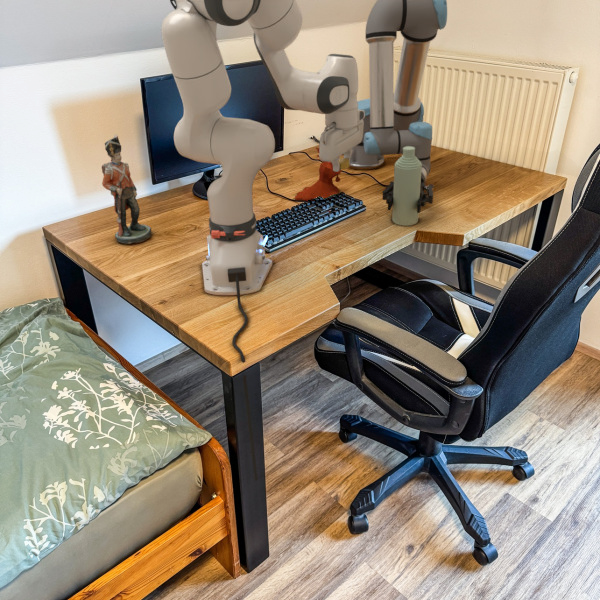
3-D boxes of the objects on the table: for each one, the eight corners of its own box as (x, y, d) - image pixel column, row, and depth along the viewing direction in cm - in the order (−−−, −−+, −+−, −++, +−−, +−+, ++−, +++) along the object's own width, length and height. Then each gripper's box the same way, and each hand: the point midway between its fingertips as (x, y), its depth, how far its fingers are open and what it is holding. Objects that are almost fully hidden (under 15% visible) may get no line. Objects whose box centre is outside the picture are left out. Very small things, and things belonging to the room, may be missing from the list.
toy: (349, 195, 190) (350, 151, 182) (303, 205, 184) (301, 160, 176) (331, 183, 200) (331, 141, 192) (287, 193, 194) (284, 150, 186)
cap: (334, 163, 162) (334, 157, 161) (350, 164, 160) (350, 158, 160) (331, 169, 158) (331, 163, 157) (348, 169, 157) (348, 163, 156)
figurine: (142, 245, 163) (121, 143, 147) (109, 243, 165) (84, 142, 149) (157, 230, 172) (139, 131, 156) (125, 228, 174) (104, 131, 158)
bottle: (408, 213, 176) (412, 142, 164) (423, 222, 170) (428, 149, 158) (387, 218, 173) (390, 146, 162) (401, 227, 167) (405, 153, 155)
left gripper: (334, 129, 143) (334, 181, 150) (367, 110, 158) (366, 158, 165) (312, 126, 146) (314, 178, 153) (347, 108, 160) (347, 155, 168)
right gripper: (445, 193, 182) (438, 222, 163) (381, 189, 187) (368, 216, 169) (447, 171, 178) (441, 197, 159) (382, 167, 183) (369, 192, 165)
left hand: (341, 167), depth 159 cm, fingers closed on cap, 4 cm apart
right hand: (403, 207), depth 164 cm, fingers closed on bottle, 8 cm apart
